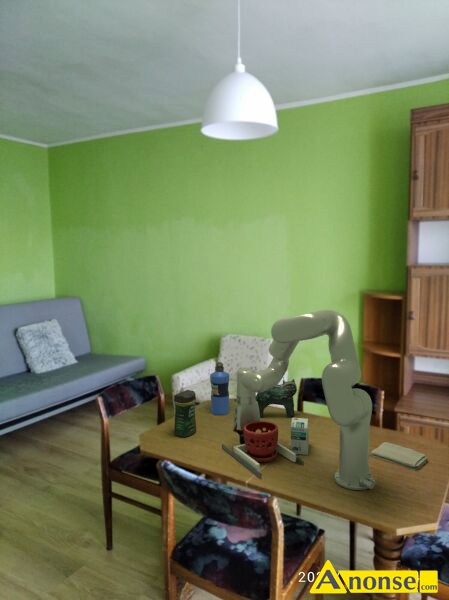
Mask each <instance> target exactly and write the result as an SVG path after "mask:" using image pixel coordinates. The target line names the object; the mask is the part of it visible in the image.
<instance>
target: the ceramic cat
mask: <svg viewBox="0 0 449 600" xmlns="http://www.w3.org/2000/svg"><path fill="white" fill-rule="evenodd" d="M282 379H283V380H282V383H281V384H279V383H278V384H277V385H276V386H275V387H272V388H270V389H268V390H266V391H263V392H261V393H256V401H257V402H258V406H259V412H260V419H263V418H264V410H265V409H266V408H267V407H268V406H270V405H276V406H283V407H284V409H285V412H286V413H285V414H286V418H287V419H289V418H291V419H292V418H295V401H294V396H295V395H296V393H297V391H298V389H297V388H298V387H297V384H296V381H295V379H294V378H293V379H291V381H290V380H288V381H286V380H285V378H284V376H283V378H282Z"/></svg>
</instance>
